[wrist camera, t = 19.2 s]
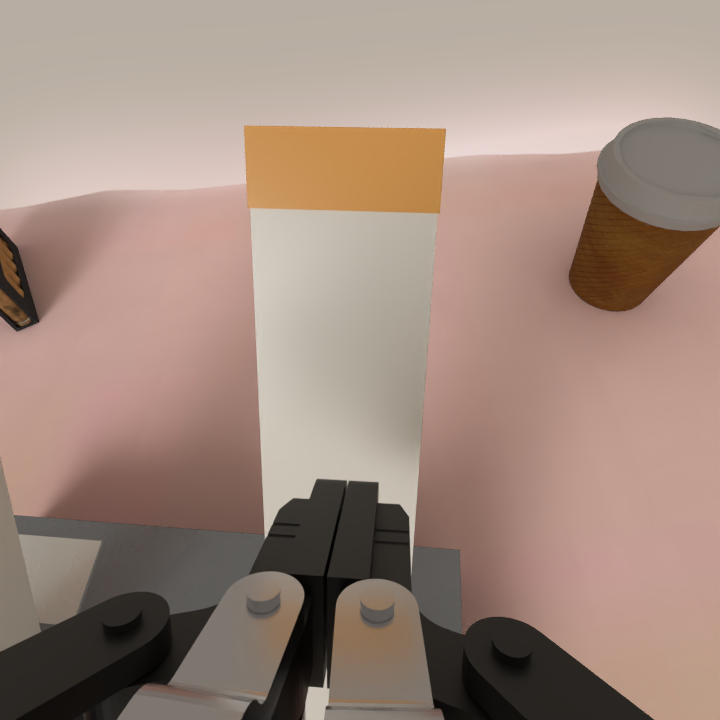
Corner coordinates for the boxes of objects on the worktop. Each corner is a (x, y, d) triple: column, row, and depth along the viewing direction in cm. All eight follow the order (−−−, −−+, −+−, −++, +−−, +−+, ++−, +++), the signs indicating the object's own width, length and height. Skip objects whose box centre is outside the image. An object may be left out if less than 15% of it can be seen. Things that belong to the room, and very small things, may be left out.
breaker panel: (453, 962, 21) (485, 1087, 15) (-122, 881, 23) (-306, 963, 17) (447, 565, 29) (465, 540, 23) (29, 532, 31) (-57, 500, 25)
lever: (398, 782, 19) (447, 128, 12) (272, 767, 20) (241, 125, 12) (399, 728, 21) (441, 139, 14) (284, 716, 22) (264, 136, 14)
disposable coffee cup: (690, 316, 38) (803, 192, 28) (578, 337, 38) (653, 219, 28) (631, 234, 43) (709, 104, 33) (531, 251, 43) (580, 124, 33)
